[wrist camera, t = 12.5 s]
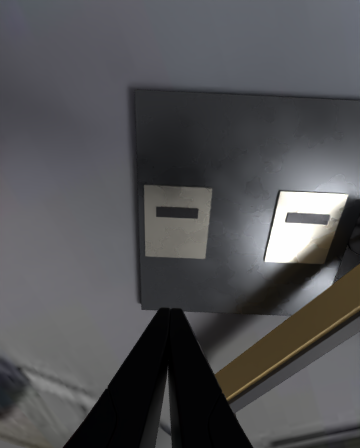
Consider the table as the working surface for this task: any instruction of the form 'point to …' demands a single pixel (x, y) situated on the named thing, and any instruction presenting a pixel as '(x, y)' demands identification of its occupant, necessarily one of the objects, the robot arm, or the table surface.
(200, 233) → the panel
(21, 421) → the table surface
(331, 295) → the swing arm
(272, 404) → the table surface
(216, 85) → the table surface
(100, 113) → the table surface
